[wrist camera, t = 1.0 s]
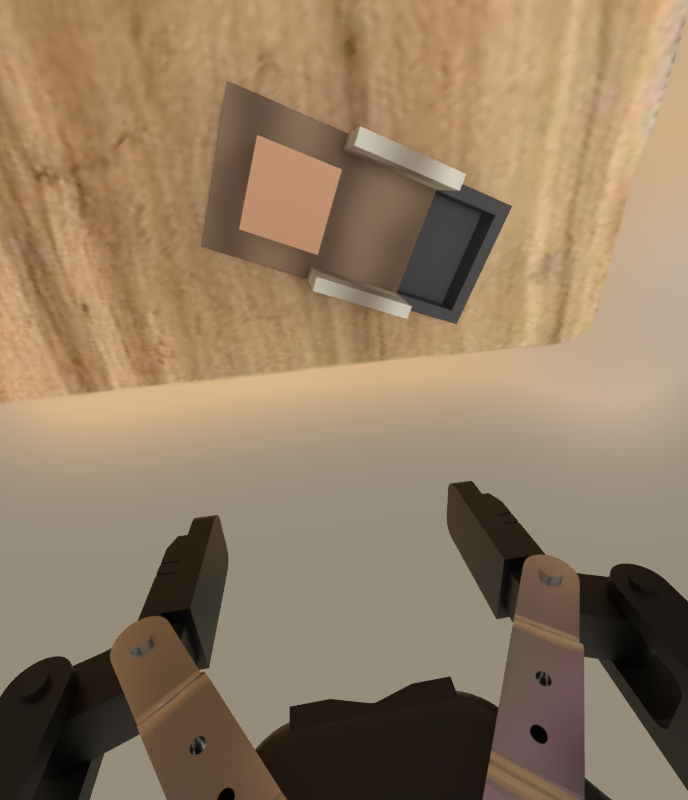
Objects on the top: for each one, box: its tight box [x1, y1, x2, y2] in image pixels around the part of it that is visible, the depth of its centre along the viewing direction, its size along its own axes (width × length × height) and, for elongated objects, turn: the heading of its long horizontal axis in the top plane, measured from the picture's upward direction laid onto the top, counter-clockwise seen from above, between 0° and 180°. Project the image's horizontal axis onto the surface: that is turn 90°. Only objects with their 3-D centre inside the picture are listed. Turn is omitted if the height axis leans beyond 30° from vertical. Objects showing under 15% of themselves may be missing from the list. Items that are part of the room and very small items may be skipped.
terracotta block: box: [239, 135, 342, 255], centre depth 25 cm, size 5×5×5 cm
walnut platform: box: [201, 81, 466, 319], centre depth 27 cm, size 16×10×6 cm, turn 72°
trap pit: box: [397, 184, 512, 324], centre depth 32 cm, size 6×10×2 cm, turn 162°
